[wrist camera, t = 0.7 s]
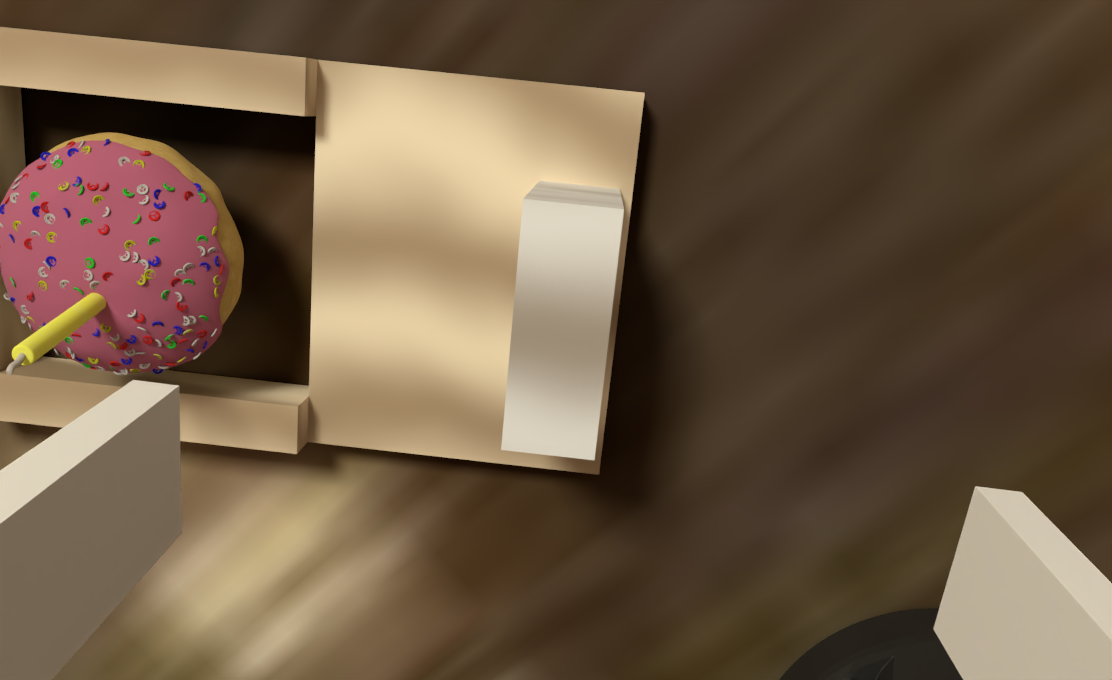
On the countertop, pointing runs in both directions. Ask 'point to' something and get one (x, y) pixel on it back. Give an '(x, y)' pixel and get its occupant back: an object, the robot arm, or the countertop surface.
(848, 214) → the countertop surface
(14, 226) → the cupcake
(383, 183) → the wooden tray
